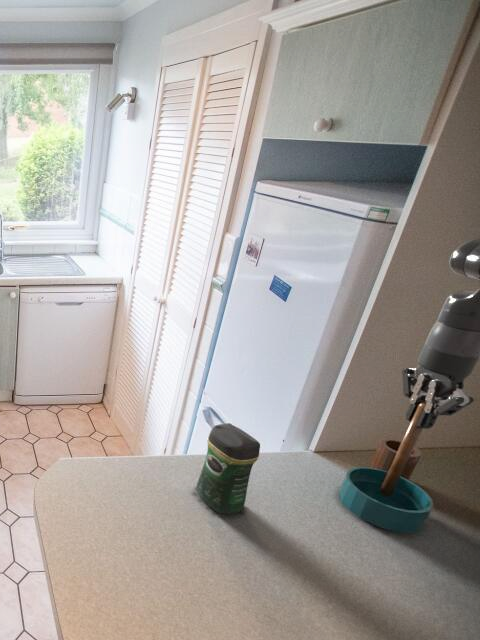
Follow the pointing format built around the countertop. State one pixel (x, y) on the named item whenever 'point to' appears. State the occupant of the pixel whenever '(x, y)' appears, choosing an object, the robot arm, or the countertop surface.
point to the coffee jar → (227, 468)
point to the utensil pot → (387, 454)
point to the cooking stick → (402, 454)
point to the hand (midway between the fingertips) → (417, 423)
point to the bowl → (385, 500)
